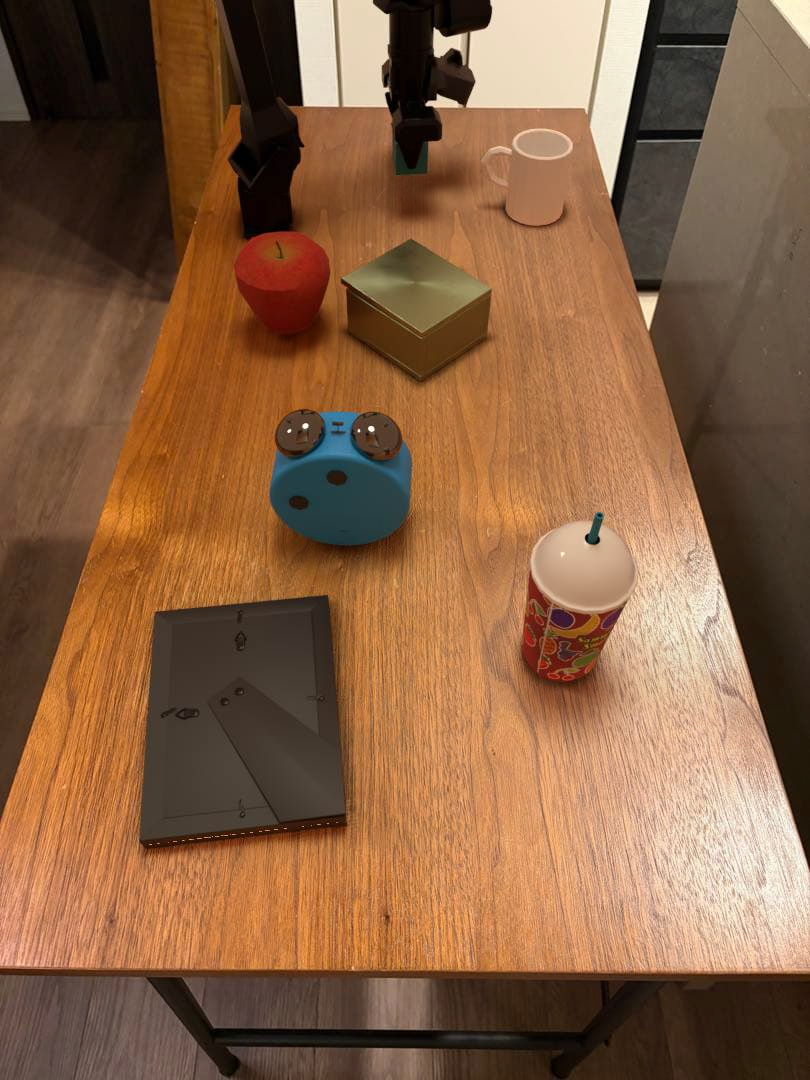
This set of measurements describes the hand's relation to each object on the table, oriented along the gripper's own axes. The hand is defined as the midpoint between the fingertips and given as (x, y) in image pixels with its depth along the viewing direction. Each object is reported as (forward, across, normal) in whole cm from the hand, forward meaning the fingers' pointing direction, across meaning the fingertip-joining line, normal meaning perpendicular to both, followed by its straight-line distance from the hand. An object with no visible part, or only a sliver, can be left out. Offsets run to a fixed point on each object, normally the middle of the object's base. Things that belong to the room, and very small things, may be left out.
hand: (409, 159), depth 122 cm
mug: (+4, -8, -15) cm, 17 cm away
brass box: (+4, -34, +3) cm, 34 cm away
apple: (+4, -31, +19) cm, 36 cm away
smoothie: (+4, -80, -4) cm, 80 cm away
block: (+1, 0, 0) cm, 1 cm away
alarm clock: (+4, -63, +14) cm, 65 cm away
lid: (-3, -34, +3) cm, 34 cm away
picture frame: (+4, -83, +24) cm, 87 cm away
